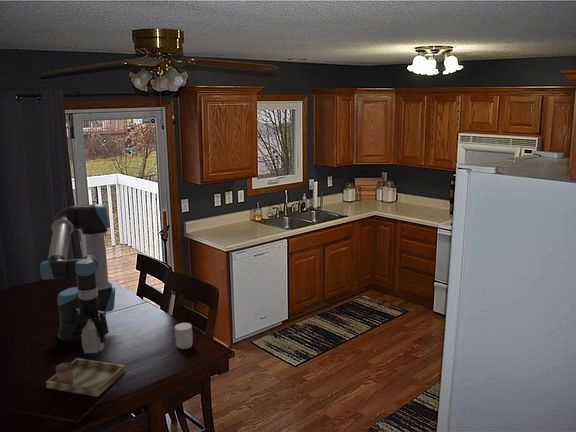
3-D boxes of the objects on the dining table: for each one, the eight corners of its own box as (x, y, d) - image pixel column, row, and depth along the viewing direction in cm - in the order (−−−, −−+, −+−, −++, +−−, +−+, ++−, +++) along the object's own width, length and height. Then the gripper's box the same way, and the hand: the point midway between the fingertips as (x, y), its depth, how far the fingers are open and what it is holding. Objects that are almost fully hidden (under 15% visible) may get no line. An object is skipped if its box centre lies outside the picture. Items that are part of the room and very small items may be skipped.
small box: (89, 344, 227) (87, 321, 224) (102, 343, 227) (100, 321, 224) (83, 353, 219) (81, 330, 216) (97, 353, 219) (95, 329, 217)
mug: (172, 324, 254) (188, 320, 258) (173, 341, 257) (189, 338, 260) (179, 334, 244) (196, 330, 248) (180, 352, 246) (197, 349, 250)
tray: (46, 389, 217) (45, 382, 216) (77, 365, 236) (76, 357, 235) (98, 398, 211) (97, 390, 210) (125, 372, 230) (125, 365, 229)
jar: (54, 386, 218) (52, 369, 216) (64, 378, 224) (62, 361, 222) (67, 388, 216) (65, 371, 214) (77, 380, 222) (75, 363, 220)
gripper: (61, 298, 216) (67, 349, 222) (104, 303, 211) (109, 355, 217) (73, 291, 223) (78, 341, 229) (115, 296, 218) (119, 347, 224)
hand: (93, 348), depth 223 cm, fingers closed on small box, 7 cm apart
